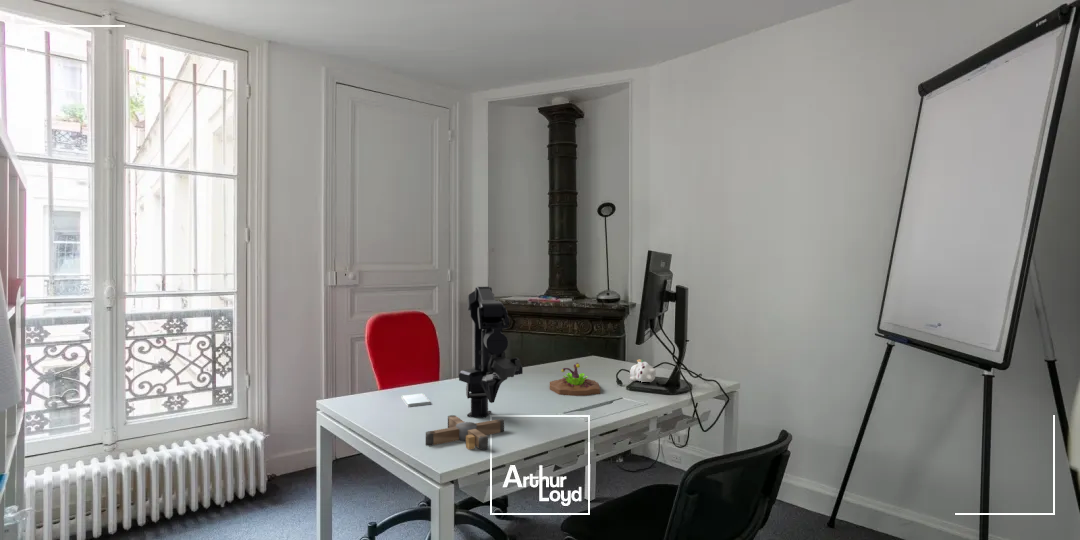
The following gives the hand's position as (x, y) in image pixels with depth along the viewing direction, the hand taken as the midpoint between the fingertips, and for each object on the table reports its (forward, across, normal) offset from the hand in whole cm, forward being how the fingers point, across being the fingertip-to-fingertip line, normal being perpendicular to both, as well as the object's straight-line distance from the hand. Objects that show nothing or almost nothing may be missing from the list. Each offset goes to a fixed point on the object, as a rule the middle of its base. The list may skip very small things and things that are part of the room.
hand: (491, 402), depth 156 cm
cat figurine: (+12, +92, +16) cm, 94 cm away
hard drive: (+13, +7, +53) cm, 55 cm away
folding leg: (+11, -4, +2) cm, 12 cm away
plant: (+13, +62, +26) cm, 69 cm away
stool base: (+12, -2, +11) cm, 16 cm away
